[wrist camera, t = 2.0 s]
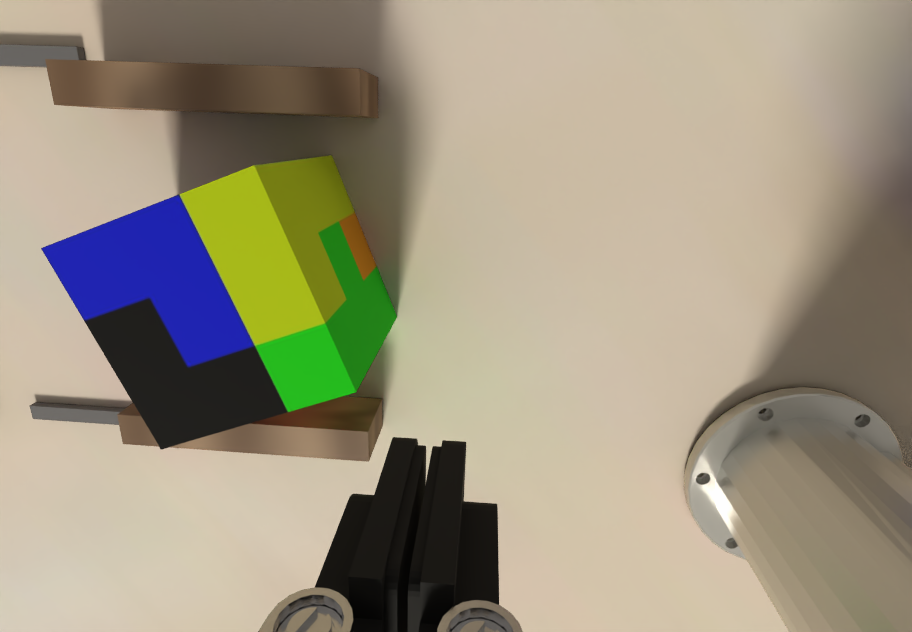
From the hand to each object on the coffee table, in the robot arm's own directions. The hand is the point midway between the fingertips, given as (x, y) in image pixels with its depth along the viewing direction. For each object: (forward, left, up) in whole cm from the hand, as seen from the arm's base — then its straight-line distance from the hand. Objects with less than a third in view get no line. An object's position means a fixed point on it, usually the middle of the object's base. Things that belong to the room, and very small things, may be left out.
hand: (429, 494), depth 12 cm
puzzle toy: (+11, 0, -20) cm, 23 cm away
